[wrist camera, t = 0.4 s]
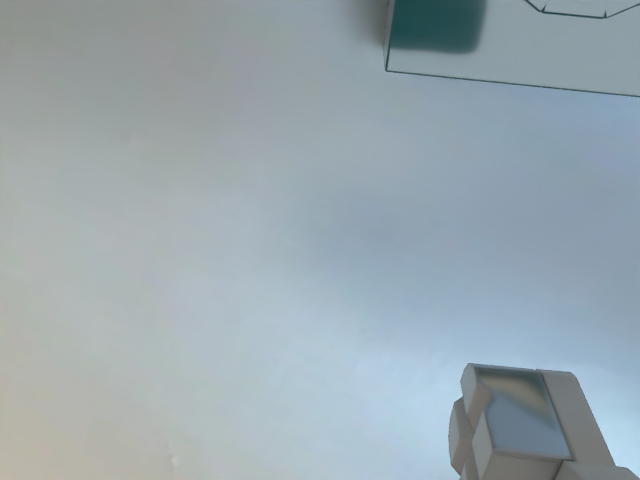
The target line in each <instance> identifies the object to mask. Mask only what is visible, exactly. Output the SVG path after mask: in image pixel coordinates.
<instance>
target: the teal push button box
mask: <svg viewBox="0 0 640 480" xmlns="http://www.w3.org/2000/svg"><path fill="white" fill-rule="evenodd" d="M383 57H384V66H385V71H386V72H394V73H404V74H414V75H424V76H434V77H444V78H453V79H463V80H473V81H483V82H493V83H503V84H513V85H523V86H533V87H543V88H552V89H562V90H572V91H582V92H592V93H602V94H612V95H622V96H632V97H640V0H389V4H388V12H387V19H386V27H385V34H384V41H383Z"/></svg>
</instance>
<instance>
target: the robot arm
mask: <svg viewBox="0 0 640 480" xmlns="http://www.w3.org/2000/svg"><path fill="white" fill-rule="evenodd" d="M460 383H461V388H462V393H463V397H461V398H460V399H459V400H457V401H456V402H454V405H453V409H452V413H451V417H450V425H449V435H448V437H449V453H450V461H451V466H452V467H453V468H454V469H455V470H456V471H457V473H458V474H459V475H460V479H459V480H640V478H638V477H637V476H636V475H635V474H634V473H633V472H631V471H630V470H629V469H628V468H625V467H618V466H616V465H615V463H614V461H613V458H612V456H611V454H610V452H609V449H608V447H607V445H606V443H605V440H604V438H603V436H602V434H601V431H600V429H599V427H598V425H597V422H596V420H595V418H594V416H593V413H592V411H591V409H590V407H589V404H588V402H587V400H586V398H585V396H584V393H583V391H582V389H581V387H580V384H579V382H578V380H577V378H576V377H575V376H574V375H573V374H572V373H571V372H563V371H552V370H540V369H536V370H533V369H526V368H515V367H505V366H495V365H484V364H474V363H468V364H467V366H466V367H465V369H464V371H463V375H462V378H461V381H460Z"/></svg>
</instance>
